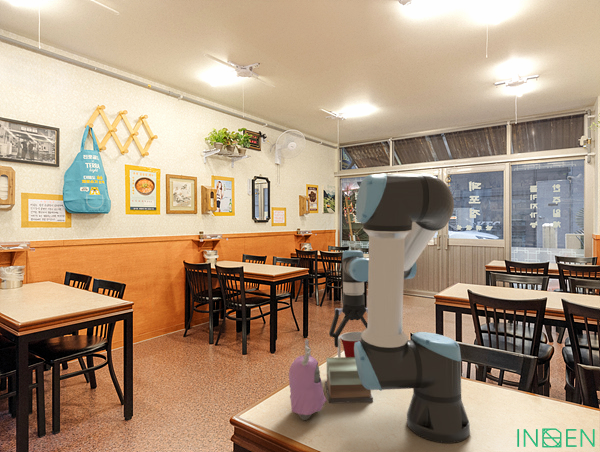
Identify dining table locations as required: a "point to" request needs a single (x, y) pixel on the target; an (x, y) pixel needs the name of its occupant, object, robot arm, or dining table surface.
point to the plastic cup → (350, 342)
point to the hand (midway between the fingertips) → (354, 355)
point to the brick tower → (345, 382)
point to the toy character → (305, 385)
